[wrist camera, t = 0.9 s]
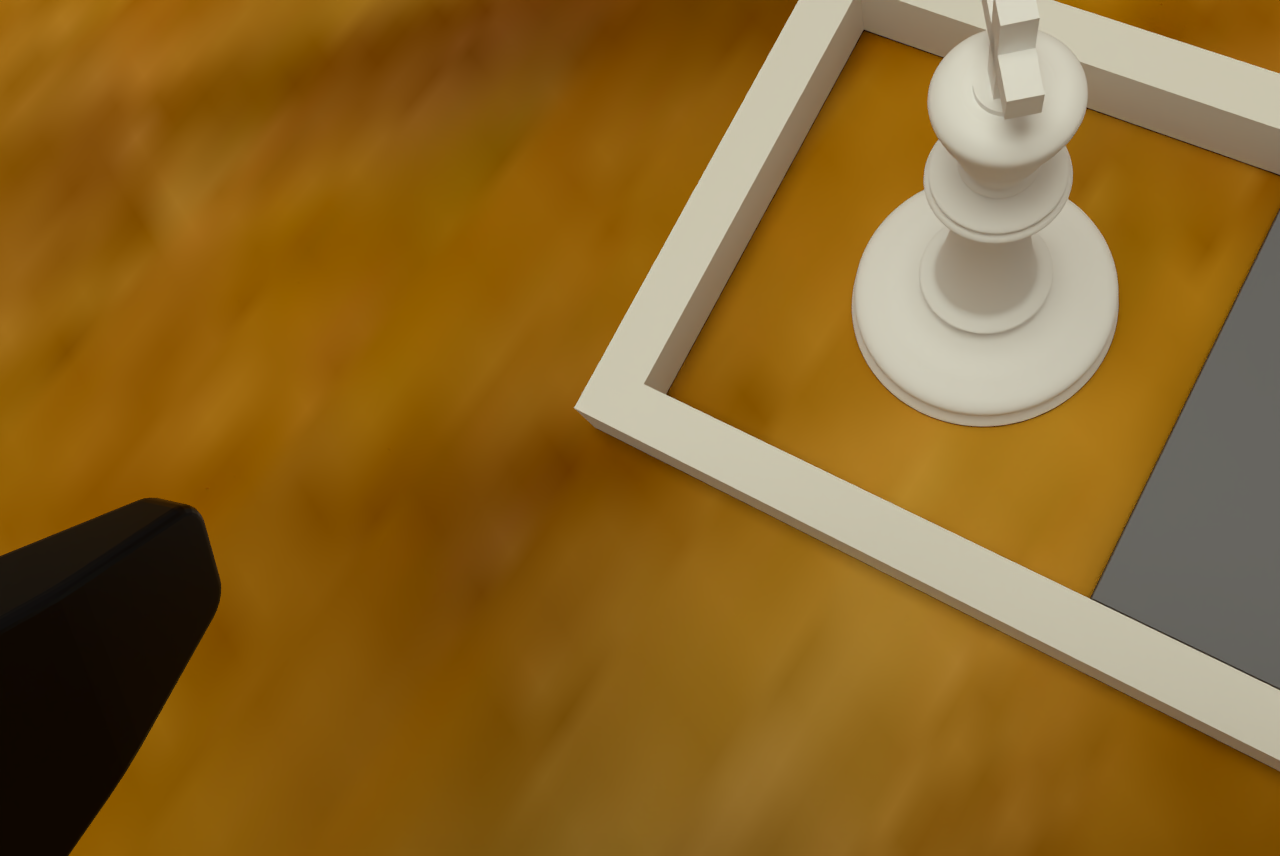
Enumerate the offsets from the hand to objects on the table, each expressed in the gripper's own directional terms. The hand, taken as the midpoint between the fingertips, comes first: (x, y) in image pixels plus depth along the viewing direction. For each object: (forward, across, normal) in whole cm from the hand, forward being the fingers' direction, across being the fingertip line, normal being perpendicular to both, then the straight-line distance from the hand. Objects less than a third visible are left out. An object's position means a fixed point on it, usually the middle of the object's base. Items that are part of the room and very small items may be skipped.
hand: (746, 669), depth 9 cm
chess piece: (+16, -1, +5) cm, 17 cm away
